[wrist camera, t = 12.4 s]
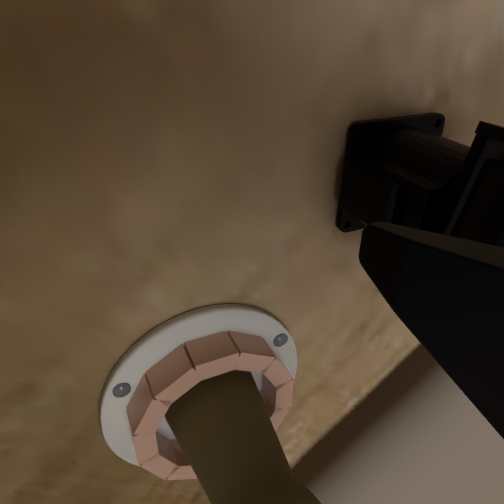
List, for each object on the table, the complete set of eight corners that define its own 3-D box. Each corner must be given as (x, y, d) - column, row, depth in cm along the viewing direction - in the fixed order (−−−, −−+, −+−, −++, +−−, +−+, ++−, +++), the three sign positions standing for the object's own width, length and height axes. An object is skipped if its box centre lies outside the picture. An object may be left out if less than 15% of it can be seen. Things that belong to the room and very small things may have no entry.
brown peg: (236, 425, 30) (322, 596, 22) (152, 435, 27) (214, 641, 19) (264, 356, 28) (372, 517, 19) (177, 359, 25) (260, 552, 16)
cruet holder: (297, 281, 27) (322, 307, 25) (286, 418, 34) (304, 448, 32) (79, 339, 22) (86, 376, 20) (116, 485, 29) (124, 525, 27)
